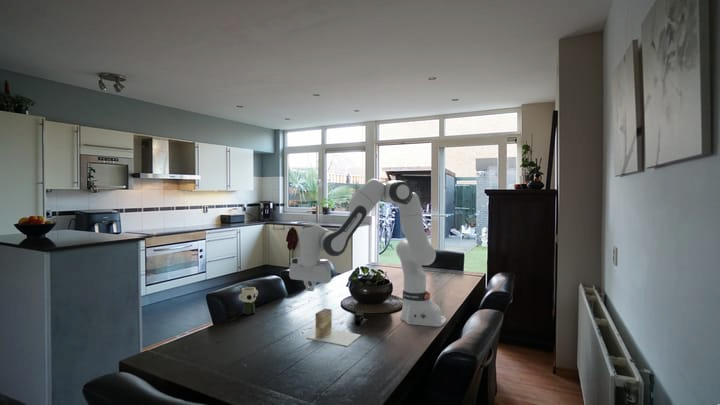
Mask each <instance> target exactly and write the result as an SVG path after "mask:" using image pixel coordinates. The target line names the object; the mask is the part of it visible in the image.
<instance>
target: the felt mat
mask: <svg viewBox="0 0 720 405" xmlns="http://www.w3.org/2000/svg"><path fill="white" fill-rule="evenodd" d="M361 336H362V334H359V333H353V332H348V331H343V330H337V329H332V332H331V333H330V334H328V335H327V336H325V337H324V338H317V337H315V331H314V332H312V333H311V334H309V335H308V336H307V337H306V339H308V340H312V341H316V342H323V343H328V344H331V345H332V344H333V345H337V346H342V347H349V346H350V345H351V344H353V343H354V342H355V341H356V340H357V339H359V338H360V337H361Z"/></svg>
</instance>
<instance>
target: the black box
mask: <svg viewBox="0 0 720 405" xmlns="http://www.w3.org/2000/svg"><path fill="white" fill-rule="evenodd" d="M367 320H368V319H367V318H364V312H359V311H357V312H356V313H355V314H354V320H353V321H352V322H351V323H350V325H353V326H359V327H361V326H362V325H363V324H364V323H366V322H367Z"/></svg>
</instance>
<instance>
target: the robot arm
mask: <svg viewBox="0 0 720 405" xmlns="http://www.w3.org/2000/svg"><path fill="white" fill-rule="evenodd" d="M380 201H381V202H383V203H388V204H396V205H397V207H398V211H399V220H400V229H401V232H402V234H403V235H404V236H405V239H404V240H401V241H399V242H398V243H397V245H396V247H395V250H396V251H395V252H396V255H397V257H398V258H399V260H400V264H401V268H402V269H401V270H402V273H403V274H402V275H403V290H402V307H401V308H402V309H401V313H400V316H399V318H400V320H402V321H403V322H405V323H406V324H408V325H414V326H415V325H416V326H424V327H437V328H438V327H442V326H444V325H445V324H446V322H447V318H446V316H444V315H442V311H441V307H440V306H439V305H438V304H436V303H435V301H433V300H432V299H431V292H428V291H427V275H426V273H425V271H424V269H423V266H430V265H432V264H433V263H434V262H435V260H436V257H437V252H436V250H435V248H434V247H433V246H432V245H431V243H430V240H429V238H428V236H427V234H426V230H425V226H424V221H423V220H424V219H423V211H422V210H423V209H422V206H421V205H422V204H421V201H420V198H419V195H418V193H416V192H414V191H412V188H411V187H410V185H409V184H408V183H407V182H406V181H404V180H396V179H394V180H393V179H391V180H388V181H387V180H386V181H380V180H379V179H377V178H371V179H368V180H367V181H366V182H365V183H364V184H363V185H361V186H360V187H359V188H358V189H357V190H356V191H355V193H354V194H353V195H352V197H351V198H350V200H349V202H348V208H349V213H348V214H349V215H348V216H347V217H346V219H345V220H344V222H343V223H341V226H340V227H338V229H337V230H336V231H334V230H330V229H327V228H325V227H322V226H321V225H320V224H319V223H308V224H305V225H303V226H302V228H301V230H300V238H299V239H300V241H299V244H300V252H299V253H300V254H299V256H297V257H293V258H290V265H289V270H288V272H289V273H288V276H289V278H290V280H297V281H303V284H304V286H305V290H306V292H314V291H315V287H316V284H317V283H321V284H329V283H330V282H331V281H332V272H331V269H332V268H331V264H330V263H329V262H328V261H323V260H321V252H326V254H327V255H328V256H331V257H339V256H342V255H343V253H344V252H345V251H346V250H347V248H348V244H349V242H350V240H351V238H352V236H353V235H354V234H355V232H356V231H357V229H358V228H360V225H362V223H363V221H364V220H365V218H366V217H367V216H368V215H369V214H370V213H371V211H372V210H373V209H374V208H376V205H377V204H378V203H379V202H380ZM309 282H310V283H311V286H310V284H309Z"/></svg>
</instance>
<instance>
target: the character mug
mask: <svg viewBox="0 0 720 405" xmlns="http://www.w3.org/2000/svg"><path fill="white" fill-rule="evenodd" d="M258 295H259V291H258V290H257V289H256V287H254V286H246V287H243V288H241V293H240V294H239V295H238V298H239V301H242V302H243V305H242V306H243V307H242V314H244V315H251V314H255V313H256V306H255V302H256V300H257V297H258Z"/></svg>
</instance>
